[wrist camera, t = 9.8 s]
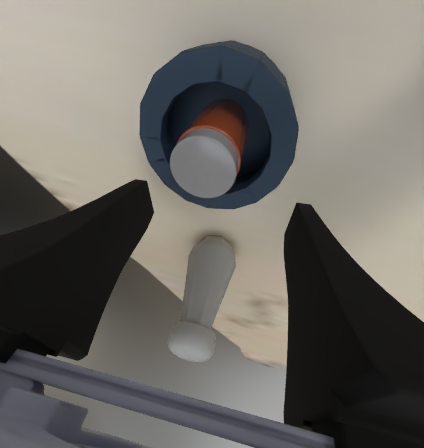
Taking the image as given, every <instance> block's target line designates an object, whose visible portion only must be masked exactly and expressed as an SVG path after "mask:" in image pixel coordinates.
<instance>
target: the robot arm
mask: <svg viewBox="0 0 424 448" xmlns="http://www.w3.org/2000/svg"><path fill="white" fill-rule="evenodd" d="M153 214H154V210H153V206H152V201H151V197H150V192H149V188H148V183H147V181H143V180H133V181H131V182H129V183H127V184H125V185H123V186H121V187H119V188H117V189H115V190H113V191H111V192H109V193H108V194H106V195H104V196H102V197H100V198H98V199H96V200H94V201H92V202H90V203H88V204H86V205H84V206H81V207H79V208H77V209H75V210H73V211H71V212H68V213H66V214H64V215H61V216H58V217H56V218H53V219H51V220H48V221H45V222H42V223H39V224H37V225H33V226H30V227H27V228H24V229H21V230H18V231H15V232H11V233H8V234H4V235H0V448H152V447H149V446H146V445H142V444H139V443H136V442H133V441H129V440H125V439H122V438H119V437H116V436H112V435H109V434H106V433H102V432H99V431H95V430H92V429H89V428H85V427H82V424H83V422H84V419H85V418H86V415H87V413H88V409H87V408H84V407H81V406H78V405H74V404H71V403H68V402H65V401H61V400H58V399H55V398H51V397H48V396H45V395H44V385H43V384H46V385H49V386H52V387H56V388H59V389H62V390H66V391H69V392H72V393H76V394H79V395H82V396H85V397H89V398H92V399H95V400H99V401H102V402H105V403H109V404H112V405H115V406H119V407H122V408H125V409H129V410H132V411H135V412H139V413H142V414H145V415H148V416H152V417H155V418H158V419H162V420H165V421H168V422H172V423H175V424H178V425H182V426H185V427H188V428H192V429H195V430H198V431H202V432H205V433H208V434H212V435H215V436H218V437H221V438H225V439H228V440H232V441H235V442H238V443H241V444H245V445H248V446H251V447H254V448H424V322H423V321H421V320H420V319H419V318H417V317H416V316H415V315H414V314H412V313H411V312H410V311H409V310H407V309H406V308H405V307H404V306H403V305H401V304H400V303H399V302H398V301H397V300H396V299H395V298H393V297H392V296H391V295H390V294H389V293H388V292H386V291H385V290H384V289H383V288H382V287H381V286H380V285H379V284H378V283H377V282H375V281H374V280H373V279H372V278H371V277H370V276H369V275H368V274H367V273H366V272H365V271H364V270H363V269H362V268H361V267H360V266H359V265H358V264H357V262H356V261H355V260H354V259H353V258H352V257H351V256H350V255H349V254H348V252H347V251H346V250H345V249H344V248H343V247H342V246H341V244H340V243H339V242H338V241H337V239H336V238H335V237H334V236H333V234H332V233H331V232H330V230H329V229H328V228H327V226H326V225H325V224H324V222H323V221H322V220H321V218H320V217H319V215H318V214H317V213H316V211H315V210H314V208H313V207H312V206H311V205H310V204H303V203H296V205H295V208H294V211H293V213H292V216H291V218H290V221H289V224H288V226H287V229H286V231H285V235H284V261H285V271H286V281H287V291H288V350H287V374H286V388H285V402H284V424H283V423H280V422H276V421H273V420H269V419H266V418H262V417H258V416H255V415H251V414H247V413H244V412H241V411H237V410H233V409H230V408H227V407H223V406H219V405H216V404H212V403H208V402H205V401H202V400H198V399H195V398H191V397H187V396H184V395H180V394H177V393H173V392H170V391H166V390H163V389H159V388H156V387H152V386H148V385H145V384H141V383H138V382H134V381H130V380H127V379H124V378H120V377H116V376H113V375H109V374H106V373H102V372H99V371H95V370H92V369H88V368H84V367H81V366H77V365H74V364H70V363H67V362H63V361H60V360H56V359H52V358H49V357H46V355H47V354H48V355H51V356H55V357H56V356H58V355H59V356H63V357H66V358H70V359H74V360H77V361H78V360H81V359H82V358H84V357H85V356H87V355H88V352H89V349H90V346H91V343H92V340H93V337H94V335H95V332H96V329H97V326H98V324H99V321H100V319H101V316H102V314H103V311H104V308H105V306H106V304H107V301H108V299H109V297H110V295H111V292H112V290H113V288H114V286H115V284H116V282H117V279H118V277H119V275H120V273H121V271H122V269H123V267H124V265H125V264H126V262H127V261H128V259H129V257H130V256H131V254H132V252H133V251H134V249H135V248H136V246H137V244H138V243H139V241H140V240H141V238H142V236H143V235H144V233H145V231H146V230H147V228H148V225H149V223H150V221H151V219H152V216H153Z"/></svg>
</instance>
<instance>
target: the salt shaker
mask: <svg viewBox="0 0 424 448" xmlns="http://www.w3.org/2000/svg"><path fill="white" fill-rule="evenodd" d="M234 269H235V255H234V252H233V248H232V245H231V244H230V243H228V242H227V241H226V240H225V239H224V238H223V237H218V236H207V237H206V238H205V239H204V240H202V241H201V242H200V243H198V244H197V245H196V246H194V247H193V249H192V251H191V253H190V255H189V260H188V267H187V275H186V282H185V290H184V297H183V305H182V312H181V320H180V322H179V323H176V324H175V325H174V327H173V328H172V330H171V332H170V335H169V338H168V346H169V349H170V350H171V352H172V353H174V354H175V355H177V356H179V357H180V358H183V359H185V360H189V361H194V362H205V361H206V360H208V359H209V358H210V357H212V354H213V351H214V349H215V342H216V340H215V334H214V333H213V332H212V331H211V330H210V329H211V327H212V324H213V322H214V319H215V317H216V314H217V312H218V309H219V307H220V304H221V302H222V299H223V297H224V294H225V292H226V289H227V287H228V284H229V282H230V279H231V277H232V274H233V272H234Z"/></svg>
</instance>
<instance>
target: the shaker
mask: <svg viewBox="0 0 424 448" xmlns="http://www.w3.org/2000/svg"><path fill="white" fill-rule="evenodd" d="M248 130H249V122H248V118H247V115H246V113H245V111H244V109H243V108H242V107H241V106H240V105H239V104H238V103H236V102H234V101H232V100H229V99H217V100H214V101H212V102H210V103H209V104H207V105H206V106H205V108H204V109H203V110H202V111H201V112H200V114H199V115H198V116H197V117H196V118H195V120H194V121H193V122H192V123H191V125H190V126H189V127H188V128H187V129H186V131H185V132H184V133H183V134H182V136H181V137H180V138H179V140H178V142H177V145H176V146H175V147H174V149H173V151H172V153H171V157H170V168H171V172H172V175H173V177H174V179H175V180H176V182H177V183H178V184H179V186H180V187H181V188H183V189H184V190H185V191H187V192H188V193H190V194H192V195H194V196H197V197H201V198H214V197H218V196H220V195H222V194H224V193H226V192H227V191H228V190H229V189H230V188H231V187H232V185H233V183H234V181H235V178H236V176H237V174H238V172H239V169H240V165H241V161H242V156H243V152H244V148H245V144H246V139H247V135H248Z"/></svg>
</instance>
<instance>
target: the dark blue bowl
mask: <svg viewBox="0 0 424 448" xmlns="http://www.w3.org/2000/svg"><path fill="white" fill-rule="evenodd" d="M217 99H229V100H232V101H234V102H236V103H238V104H239V105H240V106H241V107H242V108H243V109H244V111H245V113H246V115H247V118H248V122H249V130H248V135H247V139H246V144H245V148H244V152H243V156H242V161H241V165H240V169H239V172H238V174H237V176H236V178H235V181H234V183H233V185H232V187H231V188H230V189H229V190H228V191H227V192H226V193H224V194H222V195H220V196H218V197H214V198H201V197H197V196H194V195H192V194H190V193H188V192H187V191H185V190H184V189H183V188H181V187H180V186H179V184H178V183H177V182H176V180H175V179H174V177H173V175H172V172H171V168H170V157H171V153H172V151H173V149H174V147H175V146H176V145H177V142H178V140H179V138H180V137H181V136H182V134H183V133H184V132H185V131H186V129H187V128H188V127H189V126H190V125H191V123H192V122H193V121H194V120H195V118H196V117H197V116H198V115H199V114H200V112H201V111H202V110H203V109H204V108H205V106H206V105H207V104H209V103H210V102H212V101H214V100H217ZM297 136H298V122H297V118H296V114H295V110H294V106H293V103H292V99H291V96H290V92H289V88H288V85H287V81H286V78H285V76H284V75H283V74H282V73H281V72H280V70H279V69H278V68H277V66H276V65H275V64H274V63H273V62H272V61H271V60H270V59H269V58H268V57H267V56H266V54H265V53H263V52H262V51H259V50H257V49H255V48H253V47H251V46H249V45H245V44H242V43H238V42H236V41H225V42H217V43H212V44H206V45H201V46H197V47H194V48H191V49H188V50H185V51H182V52H181V53H179V54H178V55H177V56H176V57H174V58H173V59H172V60H171V61H169V62H168V63H167V64H165V65H164V66H163V67H162V68H160V69H159V70H158V71H157V72H155V74H154V75H153V77H152V79H151V81H150V84H149V86H148V88H147V90H146V92H145V95H144V97H143V99H142V101H141V103H140V138H141V141H142V144H143V147H144V150H145V153H146V156H147V159H148V162H149V163H150V165H151V167H152V168H153V169H154V171H155V172H156V173H157V175H158V176H159V177H160V179H161V180H162V181H163V183H164V184H165V185H166V186H167V187H169V188H170V189H171V190H173V191H174V192H176V193H177V194H178V195H180V196H181V197H182V198H184V199H185V200H186V201H189V202H192V203H195V204H198V205H201V206H203V207H206V208H216V209H236V208H239V207H243V206H246V205H249V204H253V203H256V202H257V201H259V200H260V199H262V198H263V197H264V196H266V195H267V194H268V193H270V192H271V191H272V190H274V189H275V188H276V187H277V186H278V185H279V184H280V183H281V181H282V179H283V178H284V176H285V174H286V173H287V171H288V169H289V168H290V166H291V165H292V163H293V160H294V156H295V150H296V143H297Z"/></svg>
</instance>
